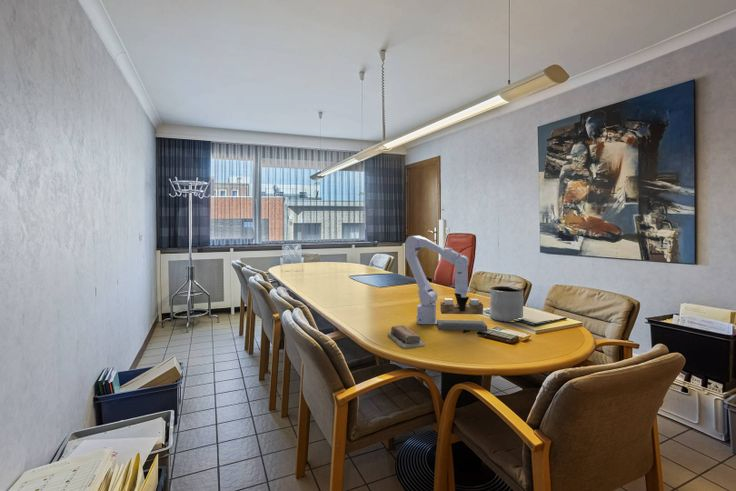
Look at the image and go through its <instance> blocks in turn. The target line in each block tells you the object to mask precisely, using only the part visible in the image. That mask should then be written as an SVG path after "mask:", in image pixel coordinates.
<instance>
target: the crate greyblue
mask: <svg viewBox="0 0 736 491" xmlns="http://www.w3.org/2000/svg"><path fill="white" fill-rule="evenodd" d="M469 303H470V304H471V305H479V303H480V300H479V298H470V297H469Z"/></svg>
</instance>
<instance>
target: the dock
mask: <svg viewBox="0 0 736 491" xmlns="http://www.w3.org/2000/svg"><path fill="white" fill-rule="evenodd" d="M436 321H437V324H436V326H437V329H438V330H443V331H445V330H448V331H449V330H452V331H453V330H454V331H456V330H457V331H459V330H460V331H487V330H488V325H487V323H486V322H485V321H484V320H483V319H441V318H440V319H438V318H436ZM486 329H487V330H486Z"/></svg>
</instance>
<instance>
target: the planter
mask: <svg viewBox="0 0 736 491" xmlns="http://www.w3.org/2000/svg"><path fill="white" fill-rule="evenodd" d="M489 291H490V292H489V295H490V297H489V316H490V318H491V319H493V320H494V321H497V322H502V321H504V322H503V323H508V322H507V321H512V320H514V319H518V318H522V317H523V318H524V289H523V288H520V287H515V286H507V285H504V286H503V285H501V286H500V285H499V286H492V287H490V290H489Z"/></svg>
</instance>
